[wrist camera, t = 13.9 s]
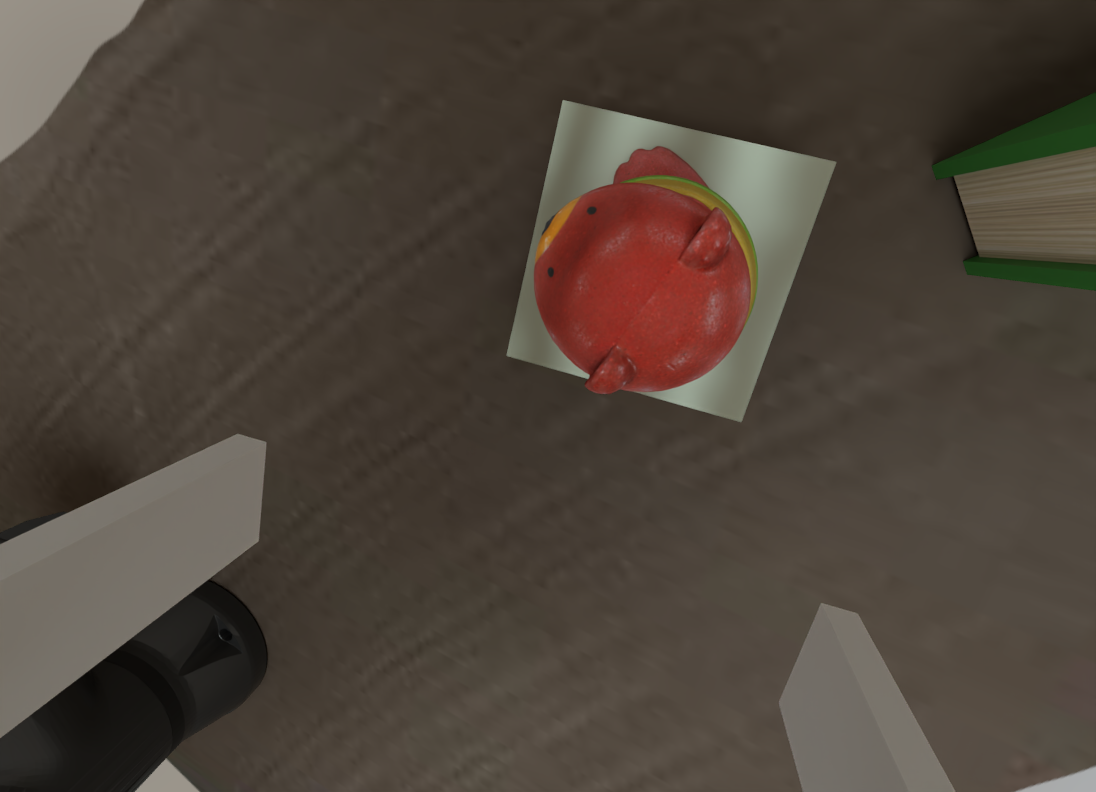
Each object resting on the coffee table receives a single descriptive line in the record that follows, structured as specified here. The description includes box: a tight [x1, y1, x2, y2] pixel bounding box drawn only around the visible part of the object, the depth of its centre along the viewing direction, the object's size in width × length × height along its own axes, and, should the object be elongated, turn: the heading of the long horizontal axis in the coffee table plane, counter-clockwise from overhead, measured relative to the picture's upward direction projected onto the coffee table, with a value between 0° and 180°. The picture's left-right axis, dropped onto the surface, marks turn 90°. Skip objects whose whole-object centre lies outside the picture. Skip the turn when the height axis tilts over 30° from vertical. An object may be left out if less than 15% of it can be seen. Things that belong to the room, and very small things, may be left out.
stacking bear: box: [534, 146, 758, 394], centre depth 25 cm, size 11×10×18 cm
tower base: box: [507, 100, 836, 422], centre depth 37 cm, size 15×15×8 cm
